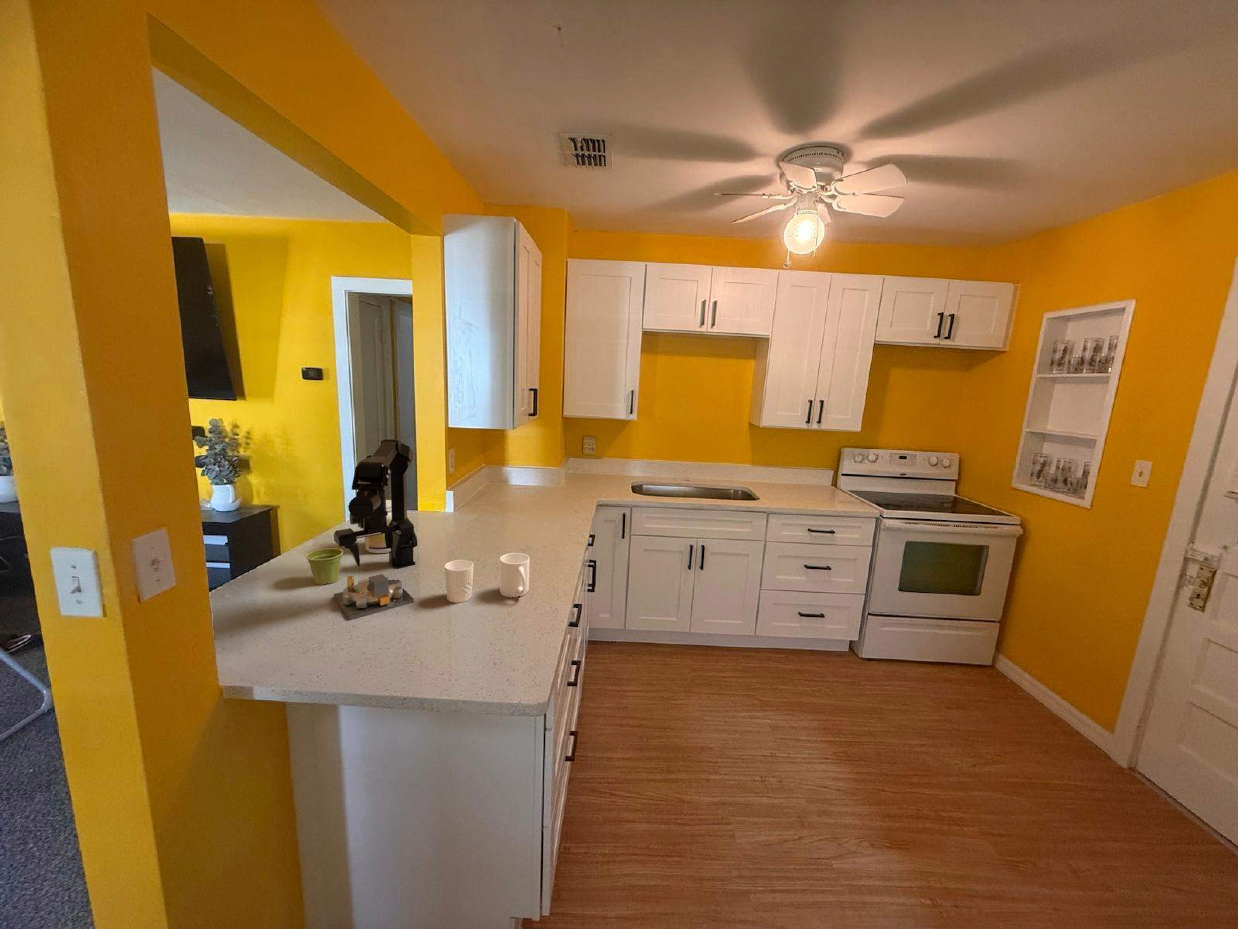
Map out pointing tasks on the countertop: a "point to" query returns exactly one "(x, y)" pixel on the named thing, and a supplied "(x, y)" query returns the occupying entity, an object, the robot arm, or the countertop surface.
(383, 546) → the supplement tub
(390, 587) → the grey cog wheel
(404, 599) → the base plate
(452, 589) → the white cup
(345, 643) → the countertop surface
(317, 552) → the plant pot
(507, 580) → the mug
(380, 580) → the taupe rectangular block
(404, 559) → the robot arm
